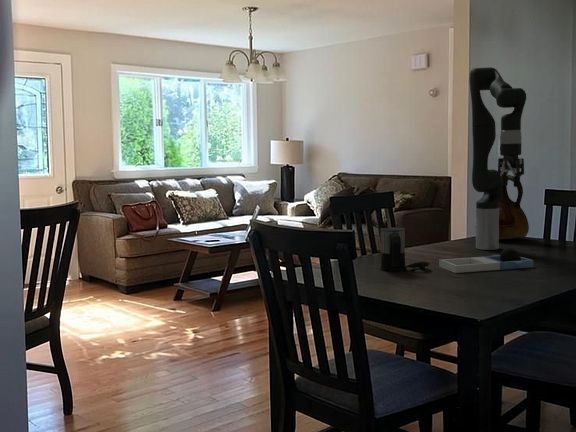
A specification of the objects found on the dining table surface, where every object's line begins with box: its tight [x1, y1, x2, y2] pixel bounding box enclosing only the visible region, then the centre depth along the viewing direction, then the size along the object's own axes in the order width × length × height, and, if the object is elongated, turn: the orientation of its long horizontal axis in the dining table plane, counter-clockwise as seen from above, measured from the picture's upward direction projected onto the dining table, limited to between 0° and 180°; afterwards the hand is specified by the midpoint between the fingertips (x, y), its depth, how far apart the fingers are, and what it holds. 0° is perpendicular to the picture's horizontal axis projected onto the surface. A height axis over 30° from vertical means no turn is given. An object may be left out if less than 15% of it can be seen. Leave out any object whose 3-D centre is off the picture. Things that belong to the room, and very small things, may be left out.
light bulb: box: [499, 247, 522, 262], centre depth 236 cm, size 6×6×10 cm
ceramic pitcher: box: [499, 174, 530, 241], centre depth 298 cm, size 20×20×30 cm
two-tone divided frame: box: [438, 254, 534, 274], centre depth 236 cm, size 17×30×3 cm, turn 102°
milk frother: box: [379, 227, 430, 272], centre depth 235 cm, size 14×16×15 cm
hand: (510, 186), depth 245 cm, fingers open, 8 cm apart
